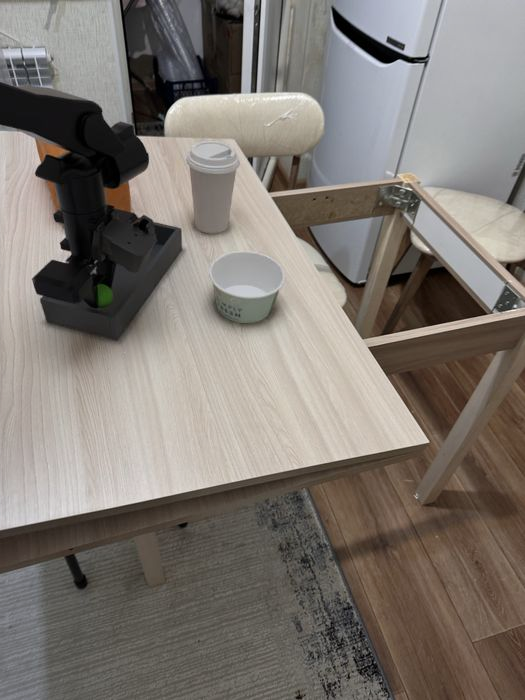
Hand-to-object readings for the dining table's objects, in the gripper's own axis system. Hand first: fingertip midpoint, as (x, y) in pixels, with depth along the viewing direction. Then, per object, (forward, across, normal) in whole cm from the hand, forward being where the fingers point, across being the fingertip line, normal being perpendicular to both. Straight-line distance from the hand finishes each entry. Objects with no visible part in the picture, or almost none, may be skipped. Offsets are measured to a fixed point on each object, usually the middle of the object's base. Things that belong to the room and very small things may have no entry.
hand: (100, 299), depth 71 cm
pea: (+1, 0, 0) cm, 1 cm away
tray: (+4, +10, +2) cm, 11 cm away
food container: (+4, +12, -19) cm, 23 cm away
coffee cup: (+4, +32, -6) cm, 33 cm away
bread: (+4, +33, +21) cm, 39 cm away
